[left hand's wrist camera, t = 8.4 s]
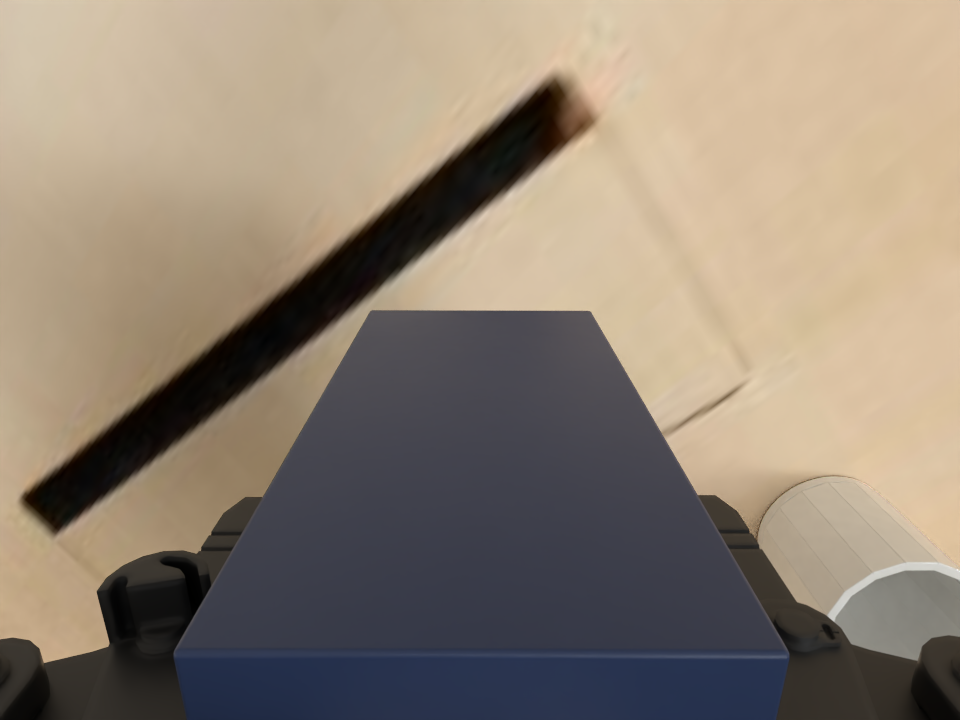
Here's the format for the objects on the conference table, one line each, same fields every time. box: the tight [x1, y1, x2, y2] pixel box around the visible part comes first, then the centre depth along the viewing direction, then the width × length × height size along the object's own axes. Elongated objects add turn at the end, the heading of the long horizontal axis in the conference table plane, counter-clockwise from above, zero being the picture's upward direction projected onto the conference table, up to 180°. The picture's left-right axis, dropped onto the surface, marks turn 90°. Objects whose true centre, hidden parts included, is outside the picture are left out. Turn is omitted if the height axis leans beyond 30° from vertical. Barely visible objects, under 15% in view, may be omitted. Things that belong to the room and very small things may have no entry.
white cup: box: [758, 476, 960, 661], centre depth 29 cm, size 6×6×6 cm
